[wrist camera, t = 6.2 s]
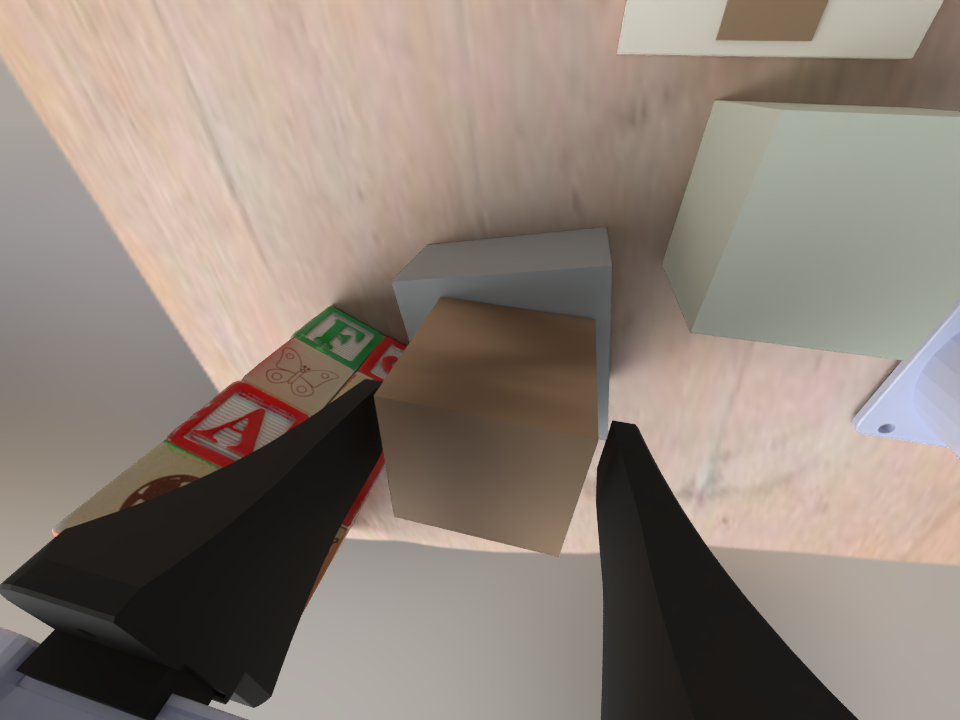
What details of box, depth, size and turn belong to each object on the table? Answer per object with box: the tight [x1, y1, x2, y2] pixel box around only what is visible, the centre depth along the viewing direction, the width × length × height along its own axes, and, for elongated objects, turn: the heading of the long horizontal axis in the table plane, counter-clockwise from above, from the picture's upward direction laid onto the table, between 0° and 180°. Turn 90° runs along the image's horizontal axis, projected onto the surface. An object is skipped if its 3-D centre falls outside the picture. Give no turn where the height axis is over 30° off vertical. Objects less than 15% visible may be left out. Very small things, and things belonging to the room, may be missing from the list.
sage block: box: [662, 100, 960, 361], centre depth 10 cm, size 5×5×5 cm
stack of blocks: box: [52, 306, 407, 612], centre depth 20 cm, size 21×6×12 cm, turn 153°
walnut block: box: [374, 297, 599, 557], centre depth 12 cm, size 5×5×5 cm
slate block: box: [391, 227, 612, 440], centre depth 15 cm, size 7×7×4 cm
